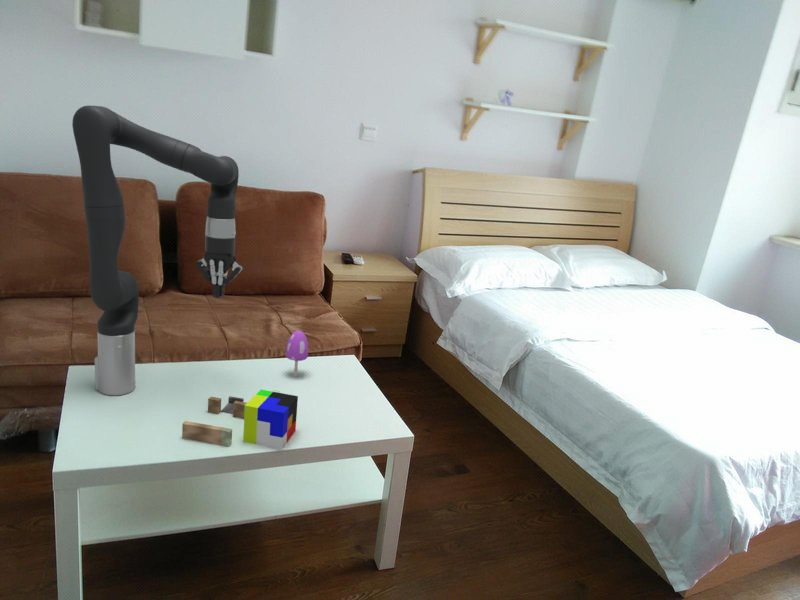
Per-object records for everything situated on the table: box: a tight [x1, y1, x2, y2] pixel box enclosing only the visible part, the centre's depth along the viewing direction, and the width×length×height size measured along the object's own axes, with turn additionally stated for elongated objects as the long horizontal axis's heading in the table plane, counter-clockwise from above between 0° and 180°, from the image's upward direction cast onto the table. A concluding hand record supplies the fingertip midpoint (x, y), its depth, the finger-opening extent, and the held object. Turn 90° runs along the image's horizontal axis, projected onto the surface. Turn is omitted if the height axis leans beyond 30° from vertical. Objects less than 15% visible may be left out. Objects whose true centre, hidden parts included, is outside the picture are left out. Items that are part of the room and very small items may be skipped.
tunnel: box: [181, 396, 248, 447], centre depth 161 cm, size 12×22×4 cm, turn 172°
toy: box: [285, 330, 309, 378], centre depth 193 cm, size 7×7×15 cm
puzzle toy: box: [242, 389, 299, 450], centre depth 157 cm, size 10×10×10 cm
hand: (218, 297), depth 168 cm, fingers closed
